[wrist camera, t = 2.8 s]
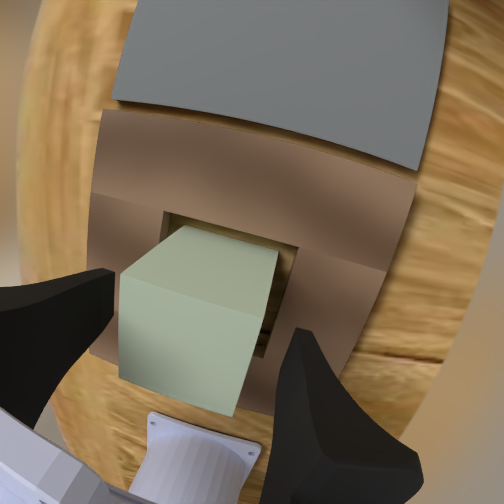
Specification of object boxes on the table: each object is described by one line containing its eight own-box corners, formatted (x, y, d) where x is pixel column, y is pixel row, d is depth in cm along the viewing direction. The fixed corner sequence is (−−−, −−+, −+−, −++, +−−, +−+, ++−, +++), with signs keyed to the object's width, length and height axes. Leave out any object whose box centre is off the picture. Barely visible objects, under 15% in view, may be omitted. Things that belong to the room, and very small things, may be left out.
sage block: (255, 331, 16) (232, 416, 11) (172, 306, 17) (118, 377, 11) (278, 250, 15) (263, 318, 9) (184, 224, 15) (120, 273, 9)
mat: (413, 170, 12) (417, 171, 12) (116, 100, 13) (111, 99, 13) (445, 1, 9) (449, -2, 9) (165, -52, 10) (161, -56, 10)
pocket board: (312, 412, 18) (312, 424, 17) (97, 344, 18) (89, 353, 17) (410, 180, 13) (417, 183, 12) (114, 109, 13) (103, 108, 13)
